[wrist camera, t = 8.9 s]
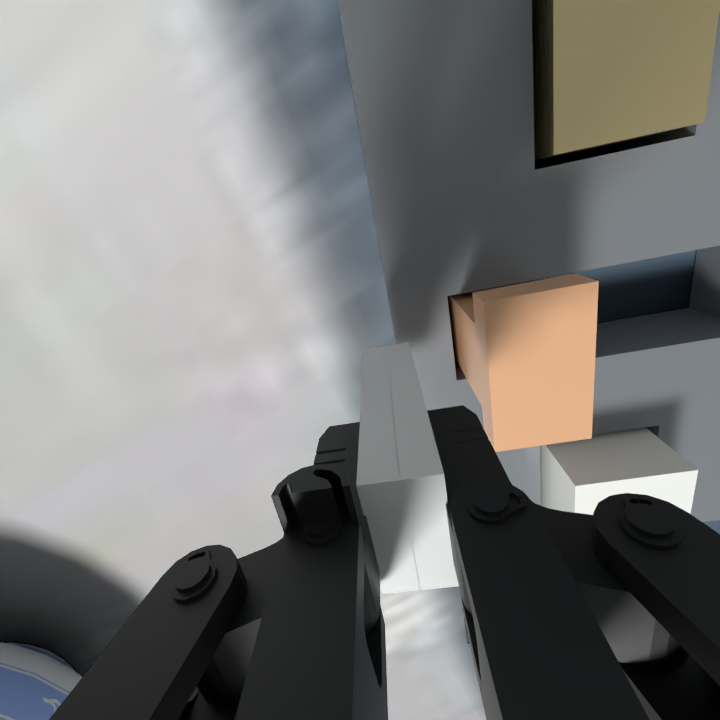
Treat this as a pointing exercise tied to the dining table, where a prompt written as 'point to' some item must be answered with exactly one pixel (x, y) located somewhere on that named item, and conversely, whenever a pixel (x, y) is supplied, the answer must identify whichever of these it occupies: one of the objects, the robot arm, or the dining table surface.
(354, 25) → the panel
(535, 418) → the orange slider knob
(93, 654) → the dining table surface
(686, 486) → the white button
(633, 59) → the brass button
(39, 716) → the ramen bowl
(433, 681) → the dining table surface
